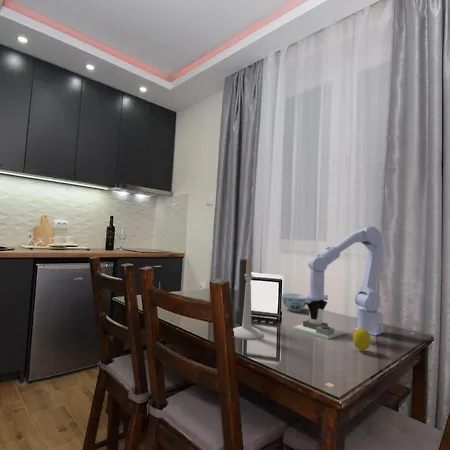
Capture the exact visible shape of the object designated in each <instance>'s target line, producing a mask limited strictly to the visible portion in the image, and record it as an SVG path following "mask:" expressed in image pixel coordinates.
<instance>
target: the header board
mask: <svg viewBox="0 0 450 450" xmlns="http://www.w3.org/2000/svg"><path fill="white" fill-rule="evenodd" d="M292 330H295V331H297V332H302V333H305V334H308V335H312V336H315V337H318V338H322V339H325V340H330V339H332V338H335V337H338V336H341V335H344V334H345V330H342V329H338V328H333V327H330V326H329V323H327V322H323V324H321V325H317V324H313V323H309V319H308V320H303V321H302V324H298V325H294V326H292Z"/></svg>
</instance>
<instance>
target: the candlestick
mask: <svg viewBox="0 0 450 450" xmlns="http://www.w3.org/2000/svg"><path fill="white" fill-rule="evenodd" d="M246 259H247V265H246V275H245V279H246V288H245V300H244V312H243V323H242V326H237V327H234V328H232V329H233V331H234V337H233V338H236V339H239V340H246V341H247V340H249V341H252V340H253V341H254V340H260V339H262V338H263V337H264V333H263V332H262V330H260V329H259V328H256V327H253V324H252V284H251V282H252V279H253V277H254V274H252V268H253V267H252V264H253V262H252V261H253V257H246Z"/></svg>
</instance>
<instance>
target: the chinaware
mask: <svg viewBox="0 0 450 450" xmlns="http://www.w3.org/2000/svg"><path fill="white" fill-rule="evenodd" d="M282 294H283V295H282V298H281V302H282V303H283V305H285V307H286V308H287V309H288V311H291V312H301V311H302V309H304V308H305V307H307V304H306V302H305V298H306V297H308V295H307V294H301V293H291V292H290V293H289V292H288V293H286V292H285V293H282Z"/></svg>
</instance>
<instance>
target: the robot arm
mask: <svg viewBox="0 0 450 450" xmlns="http://www.w3.org/2000/svg"><path fill="white" fill-rule="evenodd" d="M381 237H382V233H381V231H380V230H379V229H378V228H377V227H375V226H368V227H366V226H364V227H358V228H356V230H353V231H352V232H350V234H348V235H347V236H346V237H345V238H344V239H342V240H341V241H340V242H338V243H337V244H336V245H335V246H333V245H331V246H326V247H325V248H324V249H325V250H324V251H321V253H317V254H316V257H315V256H314V257H312V258H311V259H310V260H309V263H307V265H308V267H309V269H310V274H309V277H310V278H309V294H308V295H307V296H308V297H306V298H305V302H306V304H307V305H306V307H307V308H308V312H309V311H310V315H311V319H314V320H316V319H317V313H318V309H323V311H324V310H325V308H326V306H327V304H328V299H329V298H328V297H329V295H327V294H325V270H327V268H328V266H329V265H331V264H332V263H333V262H334V261H336V260H337V259H338V258H340V256H341V252H343V251H345V250H346V249H348V248H350V247H351V246H352V245H354V244H355V243H361V244H363V245H364V247H365V248H366V249H367V250H368V252H367V258H366V262H365V263H366V264H365V268H364V275H363V280H362V284H361V286H360V287H359V288H358V291H357V294H355V297H354V302H355V304H356V305H357V322H356V323H357V324H356V325H357V326H356V328H353V329H352V330H353V331H355V330H357V329H359V328H361V327H362V328H364V329H365V330H367V331H368V333H369V334H370V336H371V335H372V336H378V335H381V334H383V333H384V316H383V313H382V312H380V311H379V312H378V311H377V310H378V309H379V308H380V305H381V303H380V298H379V297H380V293H379V292H378V289H377V287H378V286H377V285H378V280H379V275H380V269H381V263H382V256H383V251H384V245H383V241H382V238H381Z"/></svg>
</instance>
